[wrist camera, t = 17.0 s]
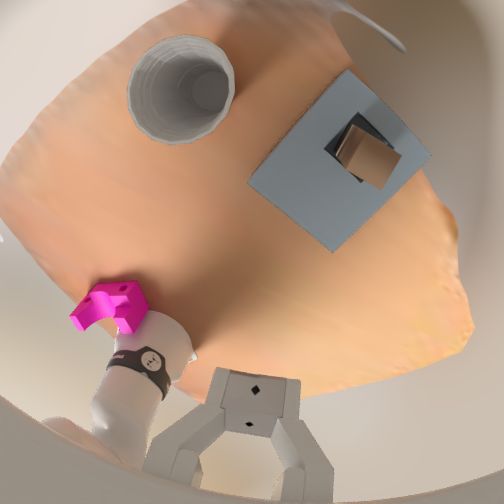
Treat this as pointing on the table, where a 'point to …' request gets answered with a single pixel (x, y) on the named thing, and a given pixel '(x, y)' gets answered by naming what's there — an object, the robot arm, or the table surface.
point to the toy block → (112, 306)
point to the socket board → (335, 163)
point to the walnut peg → (366, 156)
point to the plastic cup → (180, 89)
